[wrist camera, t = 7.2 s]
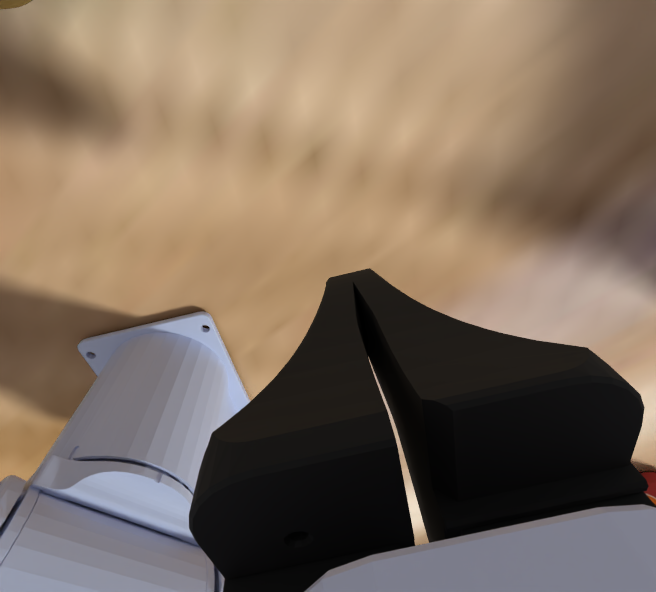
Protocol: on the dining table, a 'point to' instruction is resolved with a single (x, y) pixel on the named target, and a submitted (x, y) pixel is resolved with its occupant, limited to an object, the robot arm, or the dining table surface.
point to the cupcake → (12, 3)
